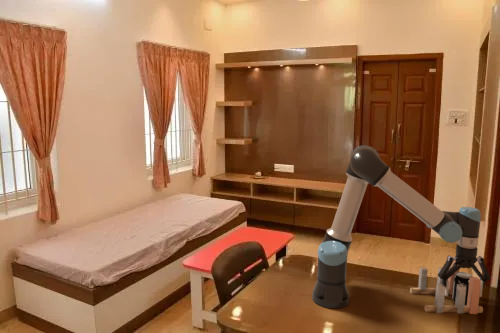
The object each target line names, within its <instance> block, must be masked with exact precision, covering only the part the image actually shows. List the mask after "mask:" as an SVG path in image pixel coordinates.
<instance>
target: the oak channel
mask: <svg viewBox="0 0 500 333" xmlns="http://www.w3.org/2000/svg"><path fill="white" fill-rule="evenodd" d="M409 292H410V294H413V295H414V294H415V295H416V294H418V295H435V294H436V287H426V289H420V288H418V287H410V288H409ZM448 295H451V294H450V289H449V290H448ZM456 310H457V307H456V306H455V305H450V304H449V305H445V304H444V308H443V313H457V312H456ZM424 311H425V312H426V313H427V312H428V313H431V312H432V313H434V312H435V313H436V306H435V304H424ZM483 311H484V308H483V306H481V305H478V313H477V314H481V313H483ZM464 313H469V307H468V306H467V305H464Z"/></svg>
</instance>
